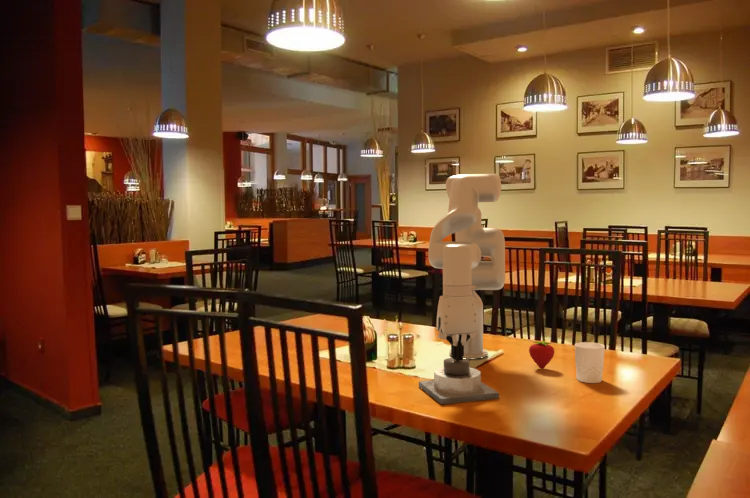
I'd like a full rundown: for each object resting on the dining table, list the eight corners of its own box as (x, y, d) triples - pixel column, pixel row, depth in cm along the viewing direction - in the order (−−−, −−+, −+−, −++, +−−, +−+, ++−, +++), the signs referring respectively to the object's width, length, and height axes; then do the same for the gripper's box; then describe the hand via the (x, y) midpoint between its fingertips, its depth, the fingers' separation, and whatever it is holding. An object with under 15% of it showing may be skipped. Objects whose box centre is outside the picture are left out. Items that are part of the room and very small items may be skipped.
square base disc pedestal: (418, 386, 164) (418, 367, 163) (472, 381, 168) (471, 362, 168) (441, 404, 148) (441, 383, 148) (499, 398, 153) (499, 377, 153)
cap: (439, 384, 160) (439, 359, 160) (462, 382, 162) (462, 356, 162) (450, 391, 154) (450, 365, 154) (474, 389, 156) (474, 363, 155)
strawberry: (529, 365, 185) (529, 333, 185) (554, 366, 183) (555, 334, 182) (527, 369, 180) (528, 337, 179) (553, 371, 177) (554, 338, 176)
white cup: (569, 380, 168) (570, 345, 168) (581, 374, 174) (582, 340, 173) (597, 385, 163) (597, 349, 162) (608, 379, 169) (609, 344, 168)
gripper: (476, 287, 162) (476, 353, 164) (425, 290, 158) (426, 358, 160) (489, 291, 155) (489, 360, 157) (436, 294, 151) (436, 365, 152)
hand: (457, 359), depth 158 cm, fingers closed
